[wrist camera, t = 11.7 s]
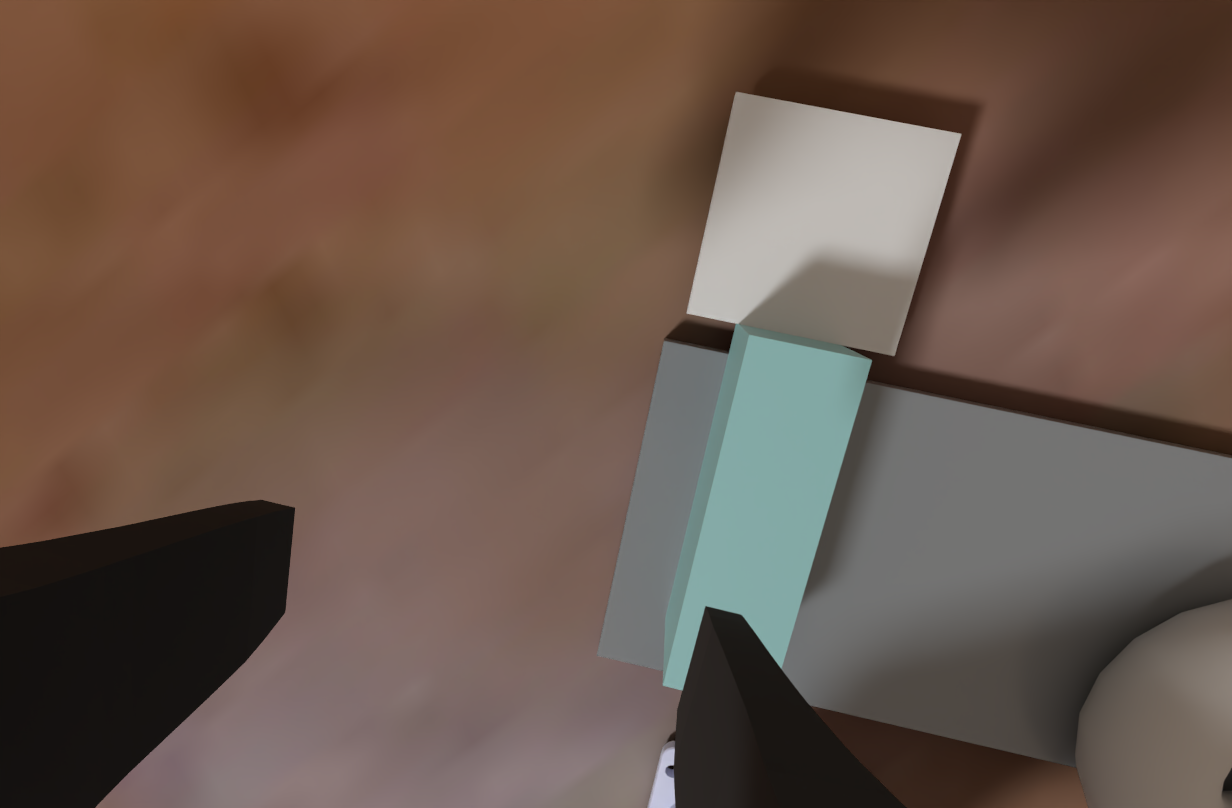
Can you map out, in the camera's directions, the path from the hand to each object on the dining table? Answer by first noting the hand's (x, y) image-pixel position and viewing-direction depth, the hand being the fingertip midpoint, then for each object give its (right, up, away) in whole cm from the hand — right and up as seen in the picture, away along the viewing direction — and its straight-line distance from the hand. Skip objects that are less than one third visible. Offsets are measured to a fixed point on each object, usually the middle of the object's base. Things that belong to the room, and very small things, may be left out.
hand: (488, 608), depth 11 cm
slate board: (+13, -2, +10) cm, 17 cm away
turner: (+7, +4, +8) cm, 11 cm away
